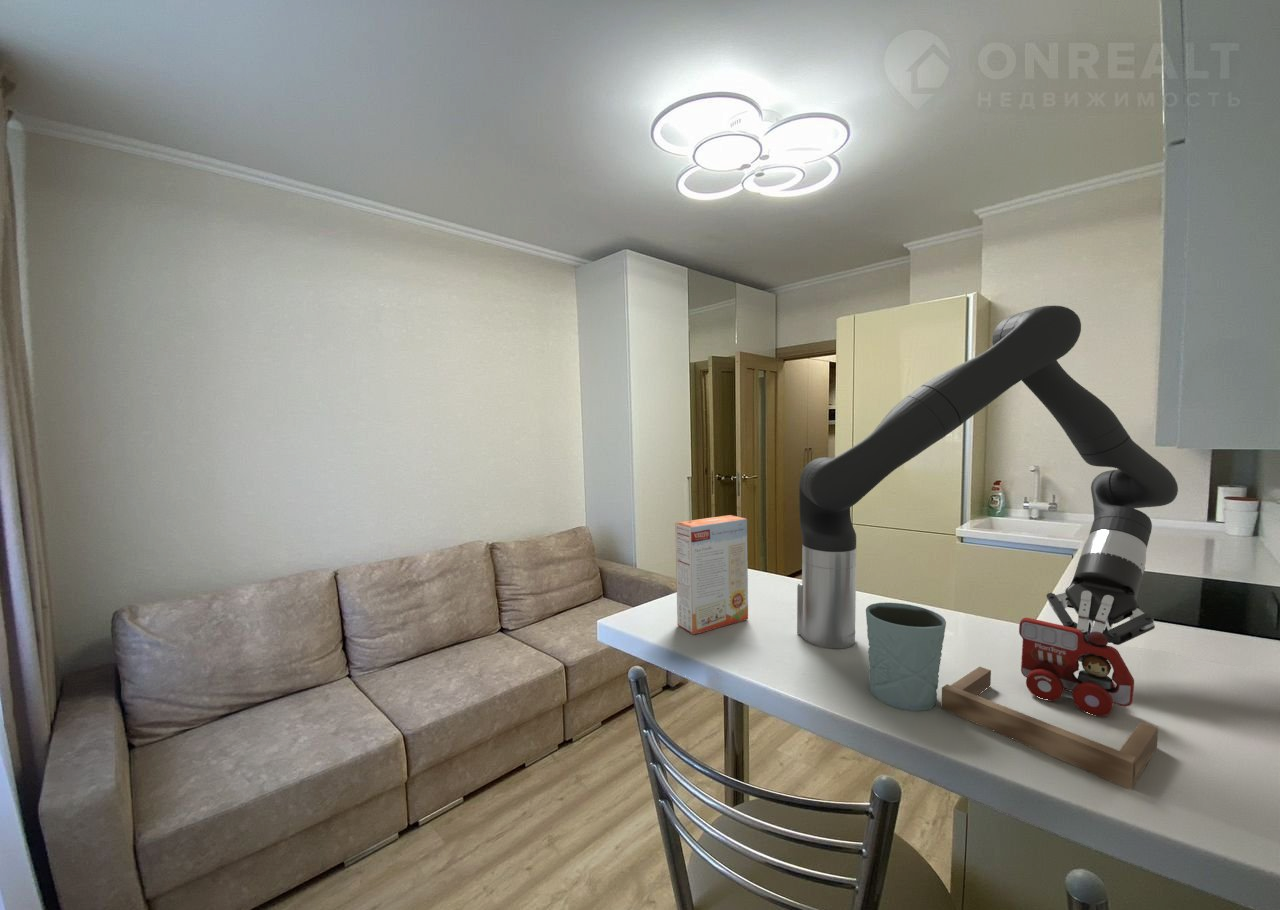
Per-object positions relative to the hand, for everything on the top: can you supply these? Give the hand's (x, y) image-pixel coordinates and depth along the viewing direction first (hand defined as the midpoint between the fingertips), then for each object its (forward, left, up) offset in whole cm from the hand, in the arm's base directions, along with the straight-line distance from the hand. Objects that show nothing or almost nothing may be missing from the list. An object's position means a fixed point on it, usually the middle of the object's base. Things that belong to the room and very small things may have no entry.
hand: (1083, 660), depth 74 cm
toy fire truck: (0, -5, -4) cm, 7 cm away
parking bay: (0, -17, -4) cm, 17 cm away
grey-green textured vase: (-14, -23, -4) cm, 28 cm away
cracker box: (-50, -27, -4) cm, 58 cm away
